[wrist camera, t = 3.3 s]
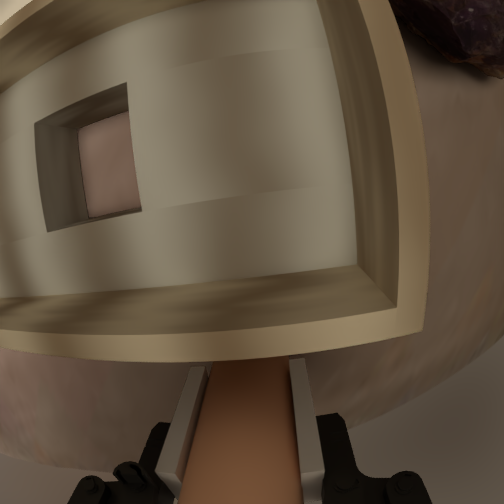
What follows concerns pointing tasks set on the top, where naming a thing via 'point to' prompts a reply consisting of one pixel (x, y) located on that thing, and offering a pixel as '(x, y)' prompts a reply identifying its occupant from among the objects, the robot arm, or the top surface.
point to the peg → (245, 437)
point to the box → (212, 180)
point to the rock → (459, 29)
